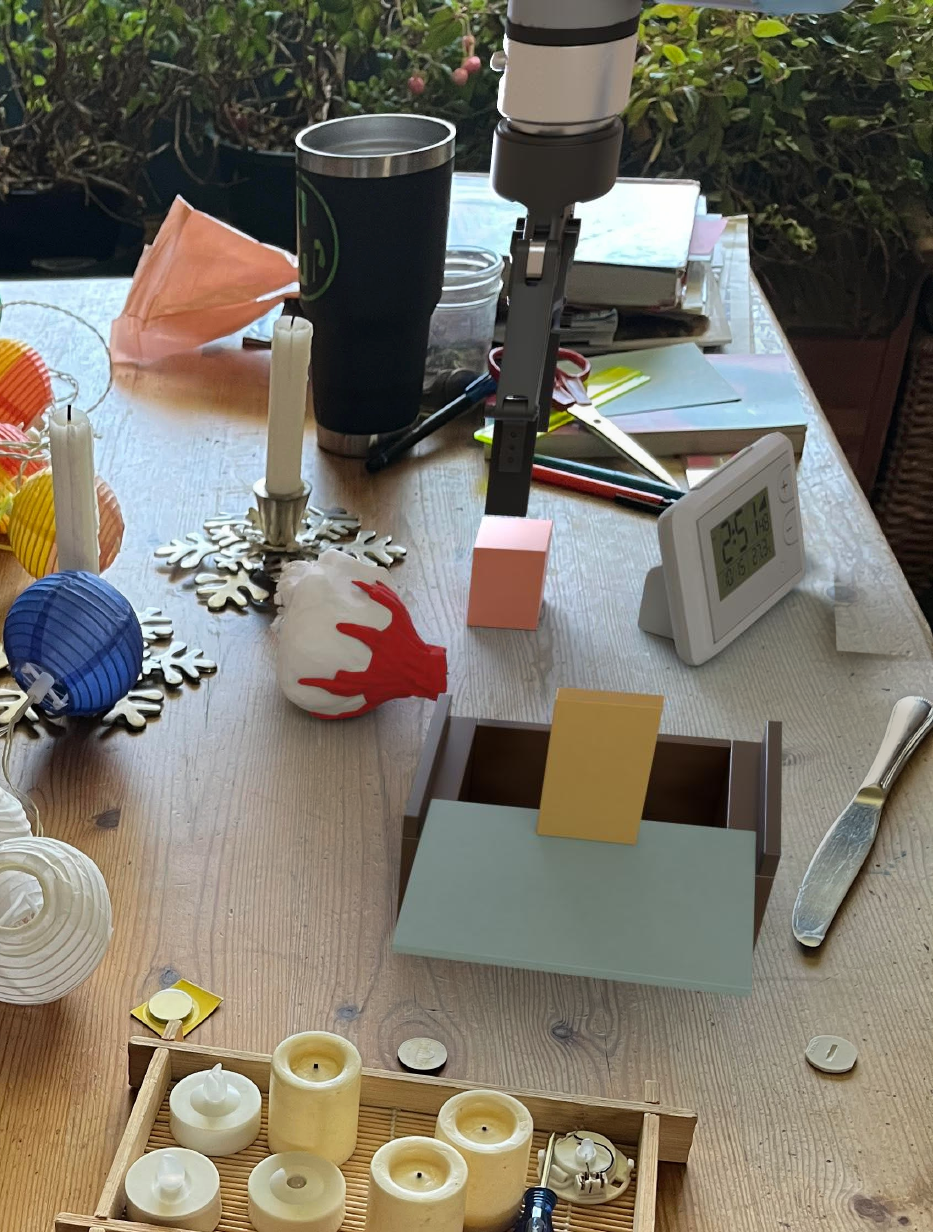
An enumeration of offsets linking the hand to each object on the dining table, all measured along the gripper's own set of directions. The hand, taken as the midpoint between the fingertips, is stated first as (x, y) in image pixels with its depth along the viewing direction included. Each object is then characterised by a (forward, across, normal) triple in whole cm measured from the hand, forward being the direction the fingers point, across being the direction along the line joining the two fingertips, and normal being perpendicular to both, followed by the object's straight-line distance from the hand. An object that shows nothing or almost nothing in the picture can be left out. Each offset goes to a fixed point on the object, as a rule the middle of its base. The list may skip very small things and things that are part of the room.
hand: (517, 470), depth 108 cm
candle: (+11, +14, -9) cm, 20 cm away
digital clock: (+10, -1, +15) cm, 19 cm away
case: (+10, +34, +8) cm, 37 cm away
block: (+10, 0, 0) cm, 11 cm away
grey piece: (+2, +44, +8) cm, 45 cm away
